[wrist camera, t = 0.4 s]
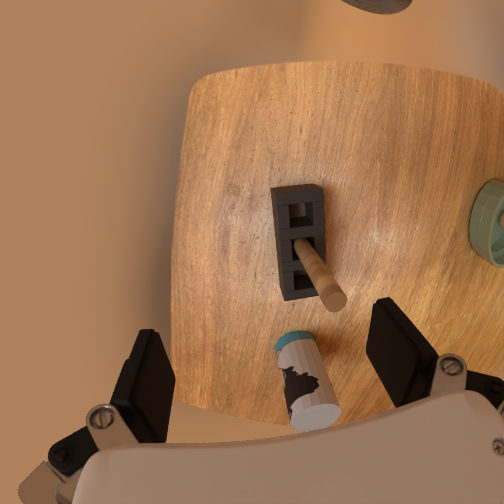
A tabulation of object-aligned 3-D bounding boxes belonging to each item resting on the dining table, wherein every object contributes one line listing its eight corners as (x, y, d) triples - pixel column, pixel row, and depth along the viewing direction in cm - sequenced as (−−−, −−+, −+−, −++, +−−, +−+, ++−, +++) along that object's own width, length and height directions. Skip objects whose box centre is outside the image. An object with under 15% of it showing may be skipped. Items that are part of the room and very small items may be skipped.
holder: (270, 188, 34) (275, 194, 31) (313, 183, 35) (323, 188, 31) (279, 286, 40) (284, 301, 36) (317, 280, 40) (325, 294, 36)
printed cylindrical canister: (267, 345, 44) (280, 420, 30) (302, 323, 43) (328, 396, 29) (288, 366, 46) (305, 436, 32) (321, 346, 45) (348, 415, 31)
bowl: (471, 178, 35) (494, 186, 30) (512, 179, 35) (532, 186, 30) (461, 260, 41) (481, 274, 36) (503, 249, 41) (521, 260, 36)
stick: (288, 231, 37) (325, 294, 22) (303, 229, 37) (347, 290, 22) (289, 245, 38) (324, 314, 23) (304, 243, 38) (346, 310, 23)
